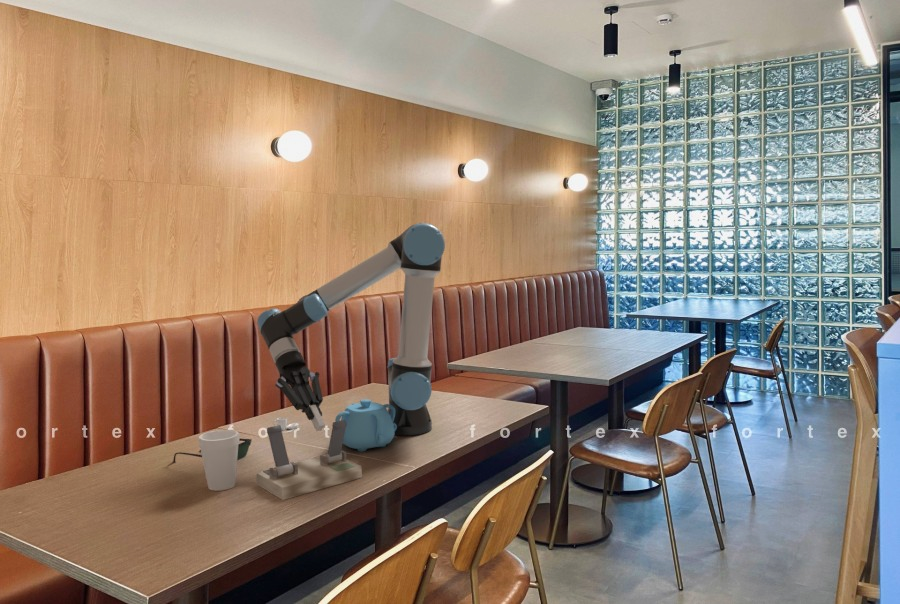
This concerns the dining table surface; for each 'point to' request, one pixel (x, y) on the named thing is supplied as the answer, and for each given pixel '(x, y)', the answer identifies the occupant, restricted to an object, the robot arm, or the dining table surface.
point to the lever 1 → (279, 451)
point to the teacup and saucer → (285, 424)
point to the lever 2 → (336, 441)
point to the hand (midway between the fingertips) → (320, 428)
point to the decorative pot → (368, 425)
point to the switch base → (309, 476)
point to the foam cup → (220, 458)
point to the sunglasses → (242, 449)
